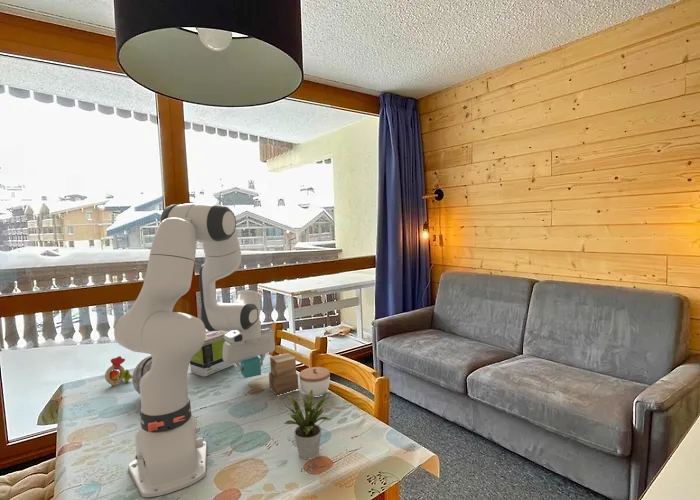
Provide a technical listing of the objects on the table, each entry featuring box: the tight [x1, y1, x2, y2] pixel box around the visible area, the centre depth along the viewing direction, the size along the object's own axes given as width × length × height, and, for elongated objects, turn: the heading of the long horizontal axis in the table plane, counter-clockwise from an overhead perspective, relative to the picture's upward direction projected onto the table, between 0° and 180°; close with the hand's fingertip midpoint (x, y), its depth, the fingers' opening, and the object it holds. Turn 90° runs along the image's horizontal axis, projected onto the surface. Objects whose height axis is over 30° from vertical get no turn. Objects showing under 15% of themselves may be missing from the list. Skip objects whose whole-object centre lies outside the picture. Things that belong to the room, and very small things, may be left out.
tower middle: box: [269, 352, 297, 379], centre depth 141 cm, size 7×7×6 cm
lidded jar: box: [298, 366, 331, 397], centre depth 137 cm, size 11×11×9 cm
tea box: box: [189, 330, 236, 378], centre depth 163 cm, size 15×10×15 cm
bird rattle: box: [104, 355, 133, 387], centre depth 152 cm, size 6×11×9 cm
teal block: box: [239, 355, 262, 379], centre depth 147 cm, size 6×6×6 cm
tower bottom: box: [268, 371, 299, 396], centre depth 142 cm, size 8×8×6 cm
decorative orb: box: [131, 355, 152, 395], centre depth 140 cm, size 15×14×15 cm
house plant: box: [283, 389, 333, 460], centre depth 101 cm, size 14×14×16 cm
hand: (250, 368), depth 147 cm, fingers closed on teal block, 6 cm apart
